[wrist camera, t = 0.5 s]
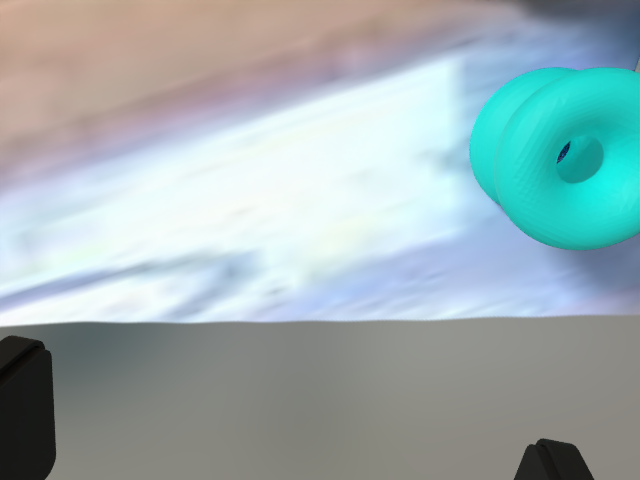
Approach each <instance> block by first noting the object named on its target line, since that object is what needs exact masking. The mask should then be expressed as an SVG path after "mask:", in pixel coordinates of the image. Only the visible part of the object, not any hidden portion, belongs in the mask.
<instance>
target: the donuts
mask: <svg viewBox="0 0 640 480" xmlns="http://www.w3.org/2000/svg"><path fill="white" fill-rule="evenodd" d="M569 142H570V147H569V150H568V152H567V154H566V156H565V157H564V158H563V159H562V160H561V161H560V162H559V163H558V164H557V159H558V156H559V154H560V152H561V151H562V149H563V148H564V146H565V145H566V144H567V143H569ZM469 151H470V162H471V167H472V170H473V173H474V175H475V178H476V180H477V182H478V183H479V185H480V186H481V188H482V189H483V190H484V192H485V193H486V194H487V195H488V196H489V197H490V198H491V199H492V200H494V201H495V202H496V203H498V204H499V205H501V206H502V208H503V209H504V211H505V213H506V214H507V216H508V217H509V218H510V220H511V221H512V222H513V223H514V224H515V225H516V226H517V227H518V228H519V229H520V230H521V231H523V232H524V233H525V234H527V235H528V236H530V237H531V238H533V239H535V240H537V241H539V242H541V243H544V244H546V245H549V246H553V247H557V248H561V249H568V250H591V249H598V248H603V247H607V246H611V245H614V244H617V243H619V242H622V241H624V240H626V239H629V238H631V237H633V236H635V235H636V234H638V233H640V73H638V72H635V71H631V70H627V69H621V68H609V67H601V68H590V69H584V70H575V69H570V68H561V67H554V68H543V69H538V70H534V71H530V72H527V73H525V74H522V75H520V76H518V77H516V78H514V79H513V80H511V81H509V82H508V83H506V84H505V85H504V86H502V87H501V88H500V89H499V90H498V91H496V92H495V93H494V94H493V95H492V96H491V98H490V99H489V100H488V101H487V102H486V104H485V105H484V107H483V108H482V110H481V111H480V113H479V115H478V117H477V119H476V121H475V124H474V127H473V130H472V134H471V138H470V149H469Z"/></svg>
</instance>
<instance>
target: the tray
mask: <svg viewBox="0 0 640 480" xmlns="http://www.w3.org/2000/svg"><path fill="white" fill-rule="evenodd" d="M635 72H638V73H640V58H639V61H638V63H637V66H636V69H635Z"/></svg>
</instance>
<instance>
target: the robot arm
mask: <svg viewBox="0 0 640 480" xmlns="http://www.w3.org/2000/svg"><path fill="white" fill-rule="evenodd" d="M55 459H56V443H55V421H54V399H53V377H52V357H51V353H50V351H48V350H45V346H44V344H43V342H41V341H38V340H33V339H28V338H23V337H18V336H8V337H6V338H4V339H3V340H1V341H0V480H45V479H46V477H47V476H48V475H49V473H50V472H51V470H52V468H53V465H54V462H55ZM514 480H594V478H593V476H592V474H591V473H590V471H589V469H588V467H587V465H586V463H585V461H584V460H583V458H582V456H581V454H580V452H579V450H578V449H577V448H576V446H574V445H573V444H570V443H564V442H559V441H554V440H549V439H540V440H538V441H537V443H536V445H533V444H531V445H529V446H527V448H526V450H525V453H524V455H523V458H522V461H521V463H520V465H519V468H518V470H517V473H516V475H515V478H514Z"/></svg>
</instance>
